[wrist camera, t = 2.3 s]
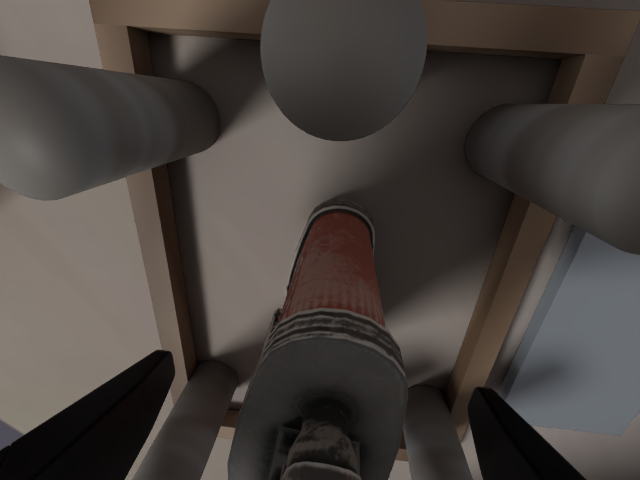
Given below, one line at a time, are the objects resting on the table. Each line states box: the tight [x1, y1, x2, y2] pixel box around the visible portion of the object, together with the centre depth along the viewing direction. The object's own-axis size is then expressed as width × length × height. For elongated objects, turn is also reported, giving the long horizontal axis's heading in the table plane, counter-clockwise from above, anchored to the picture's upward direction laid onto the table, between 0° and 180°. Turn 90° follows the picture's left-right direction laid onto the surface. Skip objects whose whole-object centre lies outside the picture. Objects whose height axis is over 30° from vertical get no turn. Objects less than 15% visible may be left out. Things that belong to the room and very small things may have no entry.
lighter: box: [228, 199, 408, 480], centre depth 9 cm, size 8×3×10 cm, turn 169°
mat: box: [498, 226, 640, 436], centre depth 13 cm, size 6×11×1 cm, turn 176°
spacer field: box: [0, 0, 640, 480], centre depth 10 cm, size 15×20×6 cm
